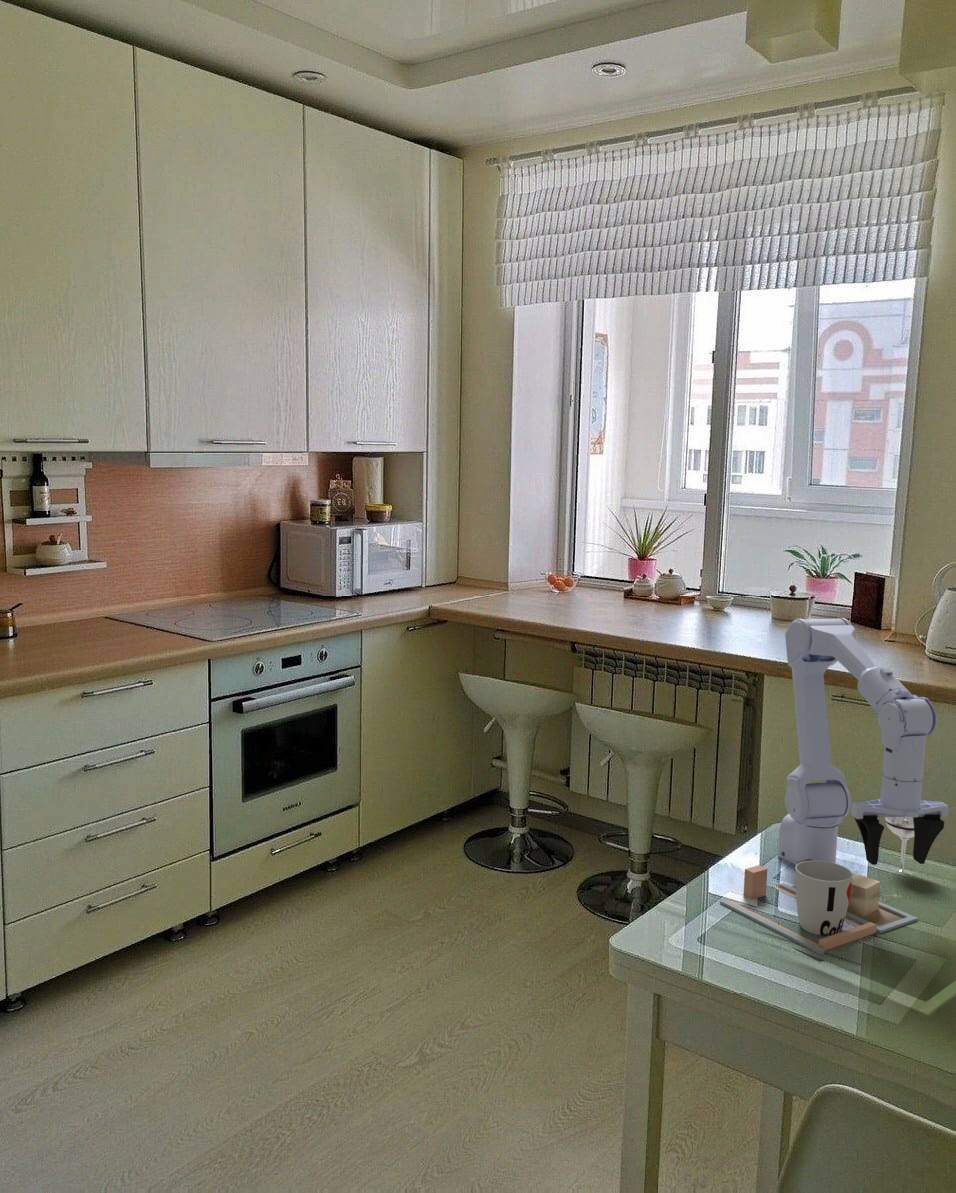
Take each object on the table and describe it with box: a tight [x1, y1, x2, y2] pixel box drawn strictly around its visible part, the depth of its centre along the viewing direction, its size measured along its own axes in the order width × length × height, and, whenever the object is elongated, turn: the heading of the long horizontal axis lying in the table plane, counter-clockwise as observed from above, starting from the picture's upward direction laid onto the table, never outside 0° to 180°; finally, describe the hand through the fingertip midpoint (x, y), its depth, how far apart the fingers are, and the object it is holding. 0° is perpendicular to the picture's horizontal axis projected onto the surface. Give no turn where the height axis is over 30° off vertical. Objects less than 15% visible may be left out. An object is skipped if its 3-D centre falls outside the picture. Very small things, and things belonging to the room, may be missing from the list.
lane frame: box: [719, 882, 919, 963], centre depth 160 cm, size 20×22×2 cm
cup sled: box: [728, 864, 877, 951], centre depth 158 cm, size 19×12×6 cm, turn 32°
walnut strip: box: [790, 859, 903, 927], centre depth 164 cm, size 17×6×5 cm, turn 32°
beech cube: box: [847, 872, 881, 917], centre depth 162 cm, size 4×4×4 cm
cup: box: [795, 861, 853, 937], centre depth 155 cm, size 8×8×10 cm
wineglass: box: [884, 817, 914, 876], centre depth 178 cm, size 7×7×12 cm
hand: (895, 861), depth 159 cm, fingers open, 7 cm apart
